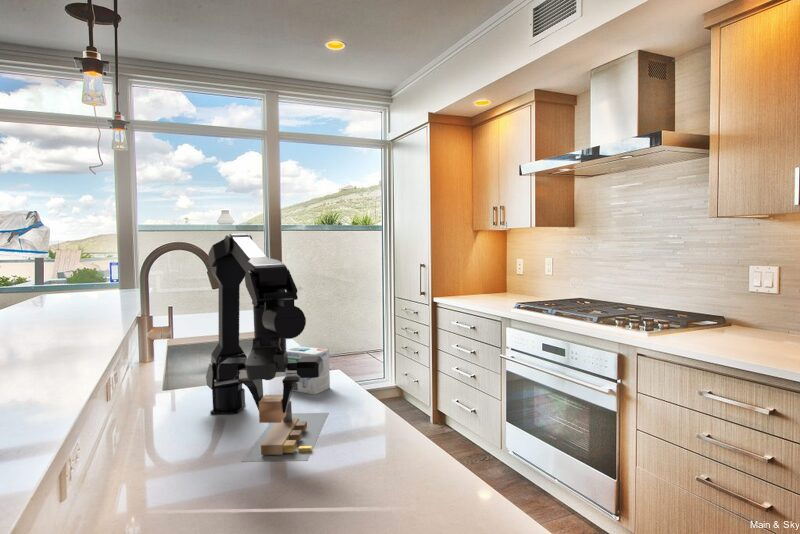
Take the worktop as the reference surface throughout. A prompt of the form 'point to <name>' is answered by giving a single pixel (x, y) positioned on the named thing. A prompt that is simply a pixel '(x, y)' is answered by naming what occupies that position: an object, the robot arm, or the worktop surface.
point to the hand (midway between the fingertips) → (273, 412)
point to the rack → (284, 435)
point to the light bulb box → (311, 384)
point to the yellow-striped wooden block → (271, 409)
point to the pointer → (305, 449)
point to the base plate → (308, 439)
